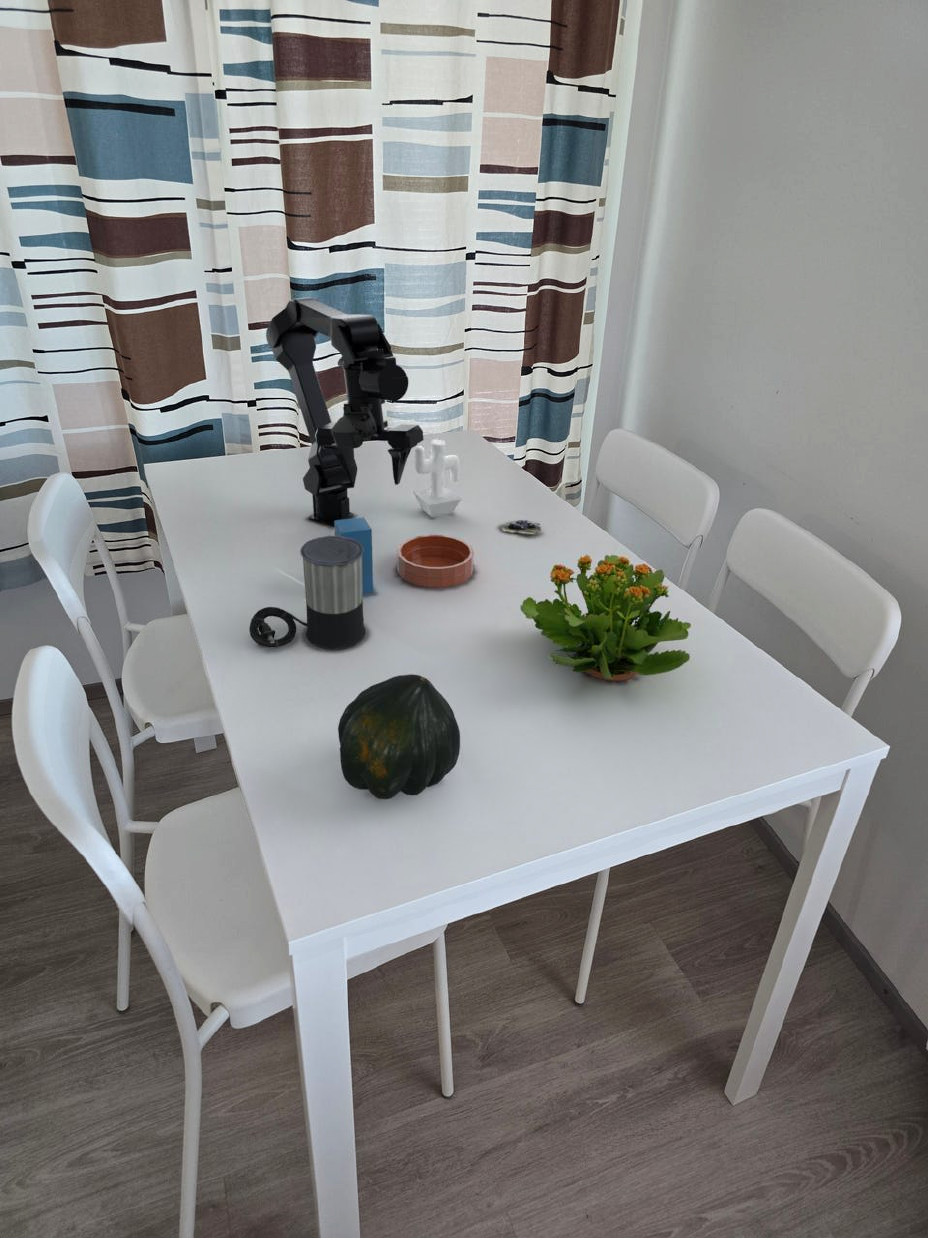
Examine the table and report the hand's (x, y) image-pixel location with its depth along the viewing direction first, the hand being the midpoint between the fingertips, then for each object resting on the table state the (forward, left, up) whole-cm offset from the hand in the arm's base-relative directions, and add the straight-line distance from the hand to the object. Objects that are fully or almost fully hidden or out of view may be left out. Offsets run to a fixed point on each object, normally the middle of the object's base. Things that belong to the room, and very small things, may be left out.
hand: (374, 482), depth 153 cm
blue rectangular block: (+6, -15, -13) cm, 21 cm away
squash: (+38, -50, -13) cm, 64 cm away
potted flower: (+52, -13, -13) cm, 55 cm away
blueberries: (+19, +22, -13) cm, 32 cm away
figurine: (+1, +20, -13) cm, 24 cm away
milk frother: (+9, -31, -13) cm, 35 cm away
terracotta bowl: (+14, -2, -13) cm, 19 cm away
